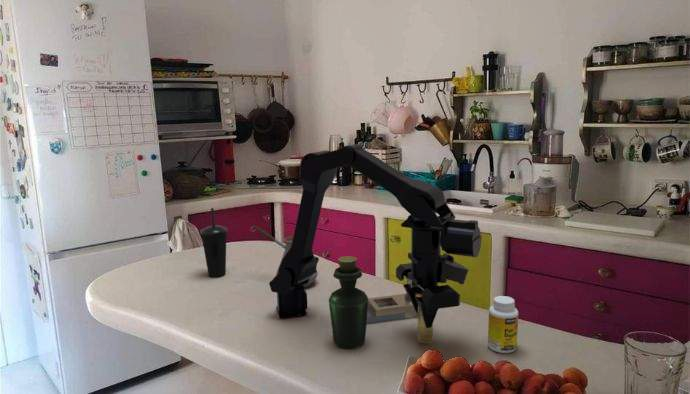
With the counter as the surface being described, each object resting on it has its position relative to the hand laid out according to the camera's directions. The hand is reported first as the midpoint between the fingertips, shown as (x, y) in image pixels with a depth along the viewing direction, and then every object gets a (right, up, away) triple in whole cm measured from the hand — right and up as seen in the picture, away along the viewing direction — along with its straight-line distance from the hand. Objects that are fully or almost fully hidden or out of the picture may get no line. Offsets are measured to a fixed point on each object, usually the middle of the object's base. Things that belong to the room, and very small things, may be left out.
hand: (425, 323), depth 102 cm
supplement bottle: (+15, -5, -1) cm, 16 cm away
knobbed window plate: (-7, -2, +15) cm, 17 cm away
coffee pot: (-34, +2, +39) cm, 52 cm away
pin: (0, -3, +1) cm, 4 cm away
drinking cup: (-54, +3, +45) cm, 70 cm away
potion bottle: (-15, -5, +2) cm, 16 cm away
